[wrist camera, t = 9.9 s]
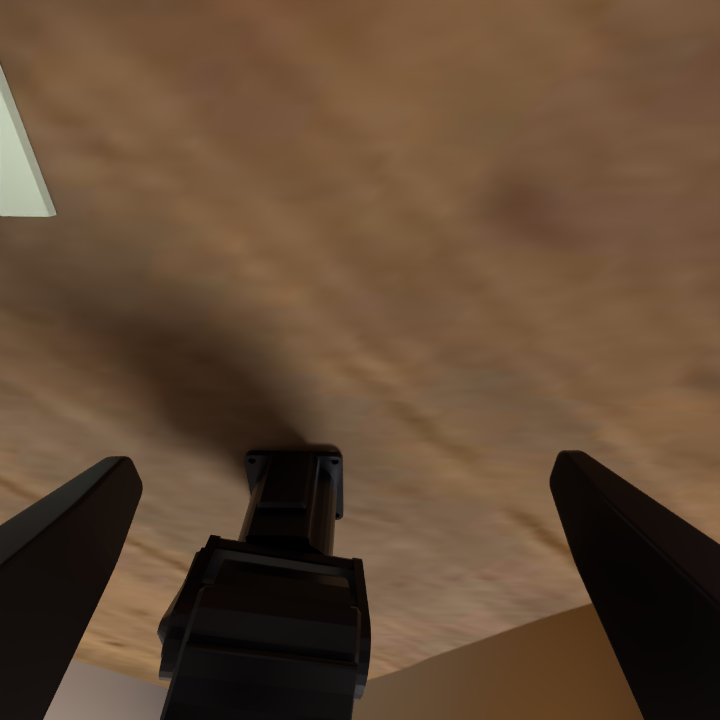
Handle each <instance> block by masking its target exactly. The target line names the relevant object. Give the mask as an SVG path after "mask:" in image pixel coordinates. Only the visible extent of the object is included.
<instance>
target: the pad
mask: <svg viewBox="0 0 720 720" xmlns="http://www.w3.org/2000/svg"><path fill="white" fill-rule="evenodd" d="M54 215H57V214H56V211H55V208H54V206H53V203H52V200H51V198H50V195H49V192H48V190H47V187H46V184H45V182H44V179H43V176H42V174H41V171H40V168H39V166H38V163H37V161H36V158H35V155H34V153H33V150H32V147H31V145H30V142H29V139H28V137H27V134H26V131H25V129H24V126H23V123H22V121H21V118H20V115H19V113H18V110H17V107H16V105H15V102H14V99H13V97H12V94H11V92H10V89H9V86H8V84H7V81H6V78H5V76H4V73H3V70H2V68H1V65H0V216H33V217H50V216H54Z"/></svg>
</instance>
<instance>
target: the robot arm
mask: <svg viewBox="0 0 720 720" xmlns="http://www.w3.org/2000/svg"><path fill="white" fill-rule="evenodd" d="M251 458H254V459H251ZM333 459H337V460H333ZM244 461H245V466H246V471H247V477H248V482H249V487H250V492H251V499H250V502H249V506H248V509H247V512H246V515H245V519H244V522H243V525H242V529H241V532H240V535H239V539H238V541H236V540H229V539H223V538H221V536H216V535H210V537H209V539H208V542H207V544H206V546H205V548H203V547H202V548H201V550H200V551H199V552H196V554H195V557H194V559H193V562H192V564H191V567H190V569H189V572H188V574H187V577H186V579H185V581H184V583H183V585H182V587H181V588H180V590H179V592H178V593H177V595H176V597H175V598H174V600H173V601H172V603H171V605H170V606H169V608H168V610H167V611H166V613H165V614H164V616H163V618H162V620H161V622H160V624H159V627H158V631H157V634H158V636H159V638H160V641H161V643H162V645H163V647H162V652H161V658H162V660H161V665H160V670H159V680H167V681H171V683H170V686H169V690H168V693H167V697H166V700H165V704H164V707H163V711H162V714H161V717H160V720H351V719H352V711H353V703H354V701H359V700H360V699H361V697H362V695H363V692H364V689H365V685H366V681H367V676H368V669H369V662H370V649H371V626H370V616H369V608H368V601H367V593H366V585H365V578H364V570H363V562H362V559H358V558H352V559H348V558H341V557H335V556H333V543H334V528H335V520H338V519H341V518H342V517H343V457H342V455H341V454H340V453H338V452H294V451H249V452H247V454H246V456H245V459H244ZM549 482H550V489H551V492H552V495H553V499H554V502H555V505H556V508H557V511H558V514H559V517H560V520H561V523H562V526H563V529H564V532H565V535H566V538H567V542H568V545H569V548H570V551H571V553H572V556H573V559H574V562H575V564H576V567H577V569H578V571H579V574H580V576H581V578H582V581H583V583H584V585H585V587H586V590H587V592H588V594H589V596H590V599H591V601H592V603H593V605H594V608H595V610H596V612H597V614H598V617H599V619H600V621H601V623H602V626H603V628H604V630H605V632H606V635H607V637H608V639H609V641H610V644H611V646H612V648H613V651H614V653H615V655H616V657H617V660H618V662H619V664H620V666H621V668H622V671H623V673H624V675H625V678H626V680H627V682H628V684H629V687H630V689H631V691H632V694H633V696H634V698H635V700H636V703H637V705H638V707H639V709H640V712H641V714H642V716H643V718H644V720H720V544H718V543H717V542H716V541H714V540H713V539H711V538H710V537H708V536H707V535H705V534H704V533H702V532H701V531H699V530H698V529H696V528H695V527H693V526H692V525H691V524H689V523H688V522H686V521H685V520H683V519H682V518H680V517H679V516H677V515H676V514H674V513H673V512H671V511H670V510H668V509H667V508H666V507H664V506H663V505H661V504H660V503H658V502H657V501H655V500H654V499H652V498H651V497H649V496H648V495H646V494H645V493H643V492H642V491H641V490H639V489H638V488H636V487H635V486H633V485H632V484H630V483H629V482H627V481H626V480H624V479H623V478H621V477H620V476H618V475H617V474H615V473H614V472H613V471H611V470H610V469H608V468H607V467H605V466H604V465H602V464H601V463H599V462H598V461H596V460H595V459H593V458H592V457H590V456H589V455H588V454H586V453H584V452H583V451H579V450H564V451H561V452H559V453H558V455H557V458H556V461H555V464H554V467H553V470H552V473H551V476H550V481H549ZM142 489H143V486H142V481H141V479H140V477H139V475H138V472H137V470H136V468H135V466H134V464H133V461H132V460H131V459H130V458H129V457H126V456H111V457H107V458H105V459H103V460H101V461H100V462H98V463H97V464H95V465H94V466H92V467H91V468H89V469H87V470H86V471H84V472H83V473H81V474H80V475H78V476H77V477H75V478H73V479H72V480H70V481H69V482H67V483H66V484H64V485H63V486H61V487H59V488H58V489H56V490H55V491H53V492H52V493H50V494H49V495H47V496H45V497H44V498H42V499H41V500H39V501H38V502H36V503H35V504H33V505H31V506H30V507H28V508H27V509H25V510H24V511H22V512H21V513H19V514H17V515H16V516H14V517H13V518H11V519H10V520H8V521H6V522H5V523H3V524H2V525H0V720H43V719H44V716H45V714H46V712H47V710H48V708H49V706H50V704H51V702H52V700H53V697H54V695H55V693H56V691H57V689H58V687H59V685H60V683H61V681H62V678H63V676H64V674H65V672H66V670H67V668H68V666H69V664H70V661H71V659H72V657H73V655H74V653H75V651H76V649H77V647H78V645H79V643H80V640H81V638H82V636H83V634H84V632H85V630H86V628H87V626H88V623H89V621H90V619H91V617H92V615H93V613H94V611H95V609H96V607H97V604H98V602H99V600H100V598H101V596H102V594H103V592H104V590H105V588H106V585H107V583H108V581H109V579H110V577H111V575H112V572H113V570H114V568H115V566H116V563H117V561H118V558H119V556H120V553H121V550H122V548H123V545H124V542H125V539H126V536H127V534H128V531H129V528H130V525H131V523H132V520H133V517H134V514H135V511H136V509H137V506H138V503H139V500H140V498H141V494H142Z"/></svg>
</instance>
